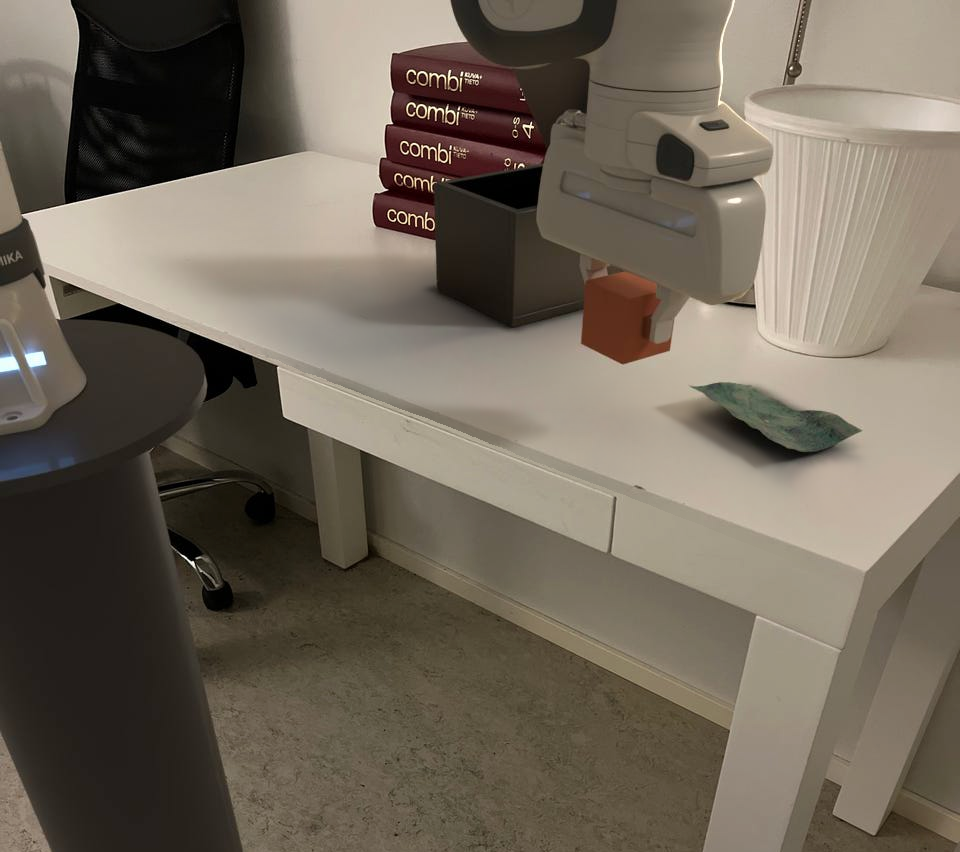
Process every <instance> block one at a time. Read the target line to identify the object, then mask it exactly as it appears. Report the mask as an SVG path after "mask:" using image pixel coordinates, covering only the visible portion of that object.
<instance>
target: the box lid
mask: <svg viewBox="0 0 960 852" xmlns="http://www.w3.org/2000/svg"><path fill="white" fill-rule="evenodd" d="M511 69H512V71H513V74H514V76H515V78H516V81H517V84H518V85H519V88H520V90H521V92H522V94H523V97H524V99H525V102H526V104H527V106H528V109H529V111H530V113H531V115H532V118H533V120H534V122H535V124H536V127H537V130H538V132H539V134H540V136H541V138H542V140H543V144H544V145H545V148H546V151H547V150H548V148H549V146H550V139H551V129H552V126H553V124H555V123H556V121H557V119H558V118H559V117H560V116H561V115H563V114H564V112H565V111H566V110H570V109H574V110H578V111H580V112H582V113H584V114H587V103H588V90H589V79H590V78H589V77H590V66H589V63H588V62H587V61H586V60H584V59H580V58H572V59H568V60H563V61H558V62H552V63H550V64H548V65H545V66H542V67H538V68H532V69H516V68H511ZM562 123H564V121H563V122H562Z"/></svg>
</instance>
